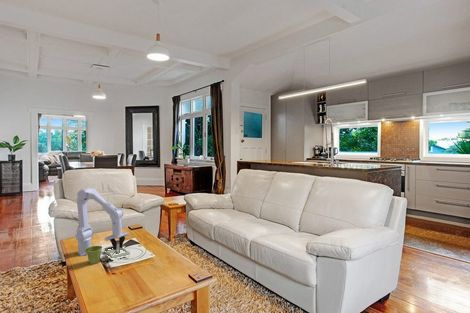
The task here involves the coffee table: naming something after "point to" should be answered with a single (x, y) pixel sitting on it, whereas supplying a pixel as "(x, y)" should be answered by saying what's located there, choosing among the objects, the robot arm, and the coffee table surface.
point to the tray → (118, 254)
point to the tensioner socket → (109, 248)
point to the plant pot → (94, 254)
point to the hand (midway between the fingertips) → (117, 248)
